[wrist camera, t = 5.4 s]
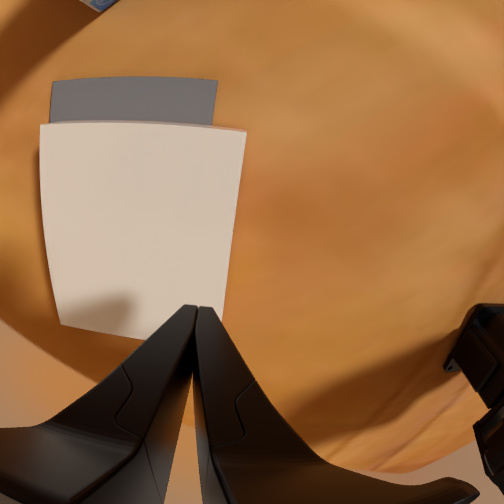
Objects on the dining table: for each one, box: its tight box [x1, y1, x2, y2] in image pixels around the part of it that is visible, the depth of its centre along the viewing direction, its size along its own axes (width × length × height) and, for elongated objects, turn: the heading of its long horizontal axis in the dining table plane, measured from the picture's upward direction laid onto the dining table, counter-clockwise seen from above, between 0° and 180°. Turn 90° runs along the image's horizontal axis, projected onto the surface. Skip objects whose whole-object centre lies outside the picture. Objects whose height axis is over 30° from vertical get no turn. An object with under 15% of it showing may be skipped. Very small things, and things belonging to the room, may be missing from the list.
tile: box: [40, 120, 247, 340], centre depth 13 cm, size 2×10×8 cm
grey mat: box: [50, 77, 218, 125], centre depth 14 cm, size 8×14×1 cm, turn 172°
